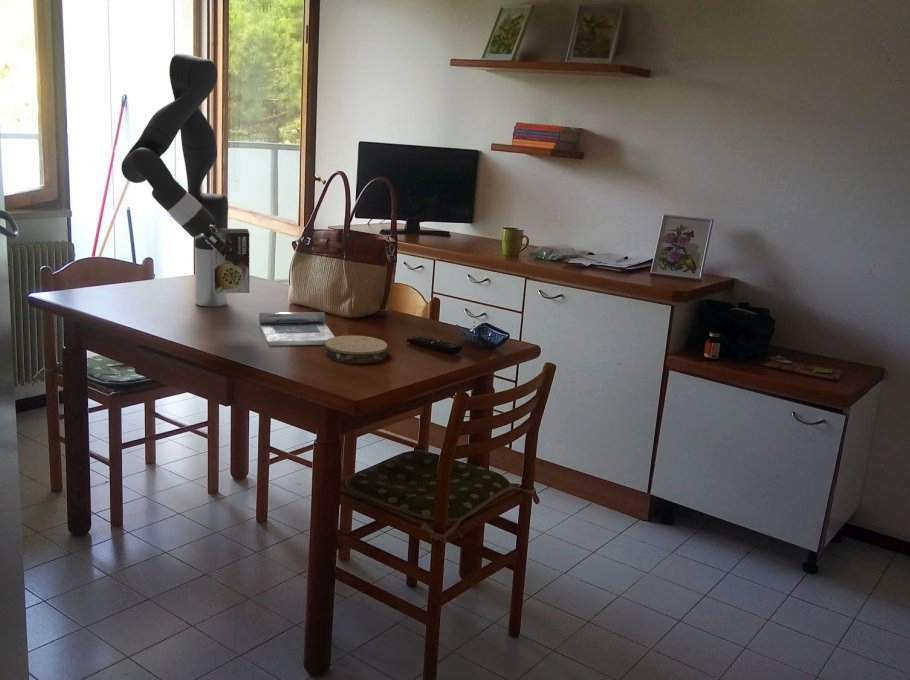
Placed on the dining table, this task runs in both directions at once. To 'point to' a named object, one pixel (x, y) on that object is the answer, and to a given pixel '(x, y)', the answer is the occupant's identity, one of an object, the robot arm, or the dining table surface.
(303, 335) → the hinge plate
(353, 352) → the beige tambourine
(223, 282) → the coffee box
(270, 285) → the dining table surface
